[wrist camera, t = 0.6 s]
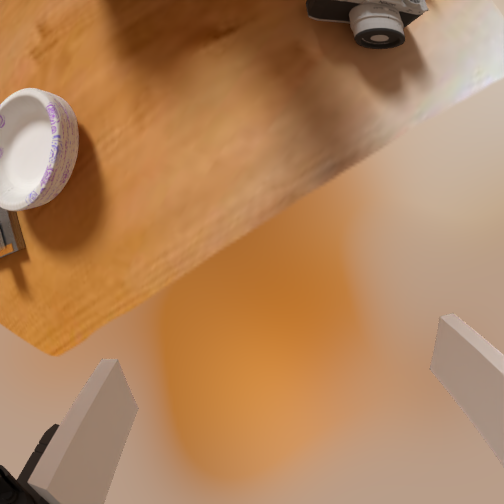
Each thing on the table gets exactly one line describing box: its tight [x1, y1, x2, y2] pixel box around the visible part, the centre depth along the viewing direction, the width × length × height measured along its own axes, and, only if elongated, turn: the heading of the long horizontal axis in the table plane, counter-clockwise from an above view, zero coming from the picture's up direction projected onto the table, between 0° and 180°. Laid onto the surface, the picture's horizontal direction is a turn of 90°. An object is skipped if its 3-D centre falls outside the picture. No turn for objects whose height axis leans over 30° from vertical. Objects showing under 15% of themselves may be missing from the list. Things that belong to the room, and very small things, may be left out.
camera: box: [306, 0, 428, 49], centre depth 25 cm, size 16×9×10 cm, turn 95°
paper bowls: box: [0, 88, 79, 211], centre depth 29 cm, size 15×15×8 cm
